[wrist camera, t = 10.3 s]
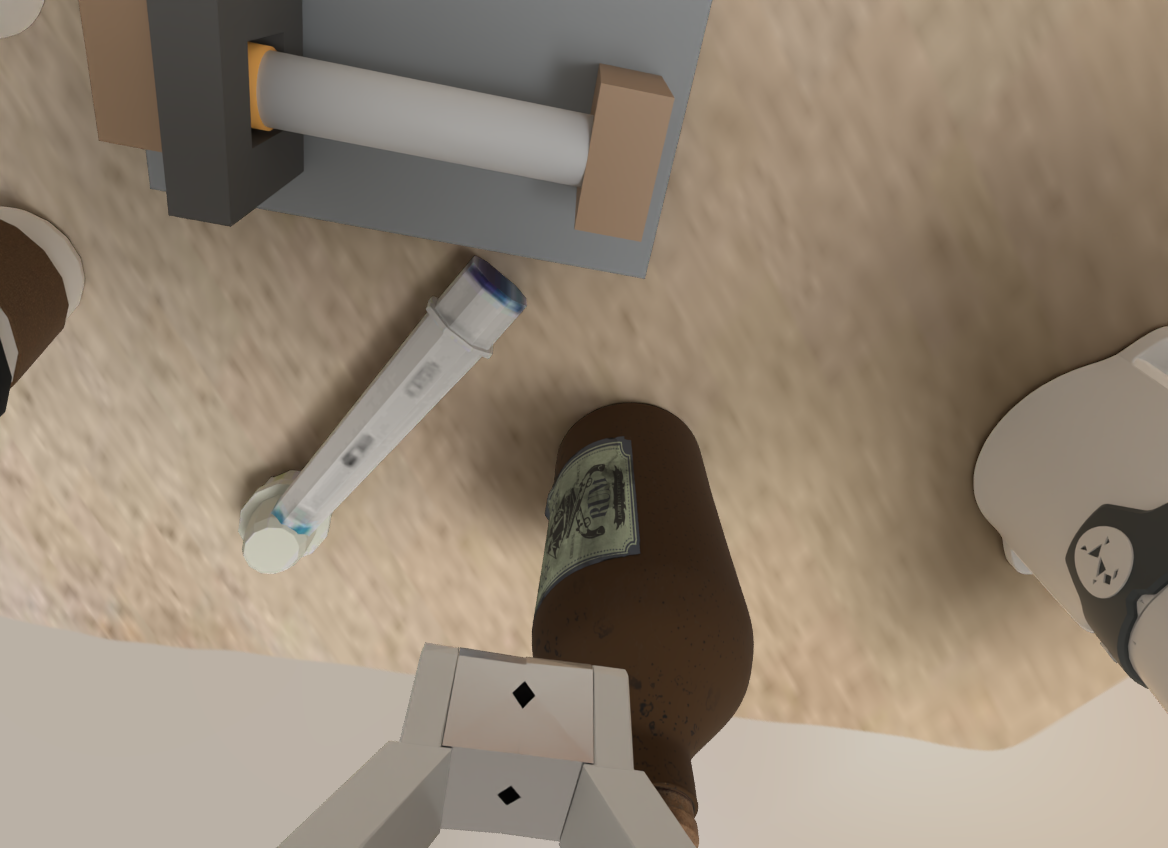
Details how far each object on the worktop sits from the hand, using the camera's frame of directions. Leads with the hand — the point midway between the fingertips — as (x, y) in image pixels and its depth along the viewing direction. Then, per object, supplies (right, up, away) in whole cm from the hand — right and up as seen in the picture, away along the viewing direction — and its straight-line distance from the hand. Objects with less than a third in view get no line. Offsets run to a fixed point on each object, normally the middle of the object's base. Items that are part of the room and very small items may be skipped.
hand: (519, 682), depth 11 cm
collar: (-13, +20, +24) cm, 34 cm away
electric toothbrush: (-12, +5, +37) cm, 39 cm away
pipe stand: (-7, +20, +26) cm, 34 cm away
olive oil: (+4, +2, +38) cm, 38 cm away
